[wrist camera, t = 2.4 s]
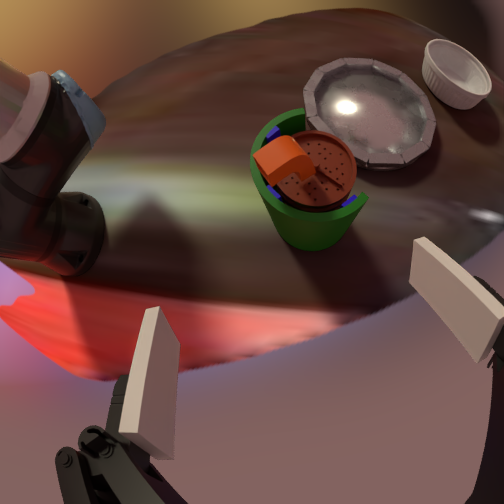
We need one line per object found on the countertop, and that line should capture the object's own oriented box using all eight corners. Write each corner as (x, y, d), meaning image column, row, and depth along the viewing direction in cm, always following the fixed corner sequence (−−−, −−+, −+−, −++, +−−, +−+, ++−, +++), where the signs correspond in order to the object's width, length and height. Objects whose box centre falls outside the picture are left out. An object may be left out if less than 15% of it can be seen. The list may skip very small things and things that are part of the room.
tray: (312, 172, 36) (312, 164, 33) (298, 69, 39) (297, 58, 36) (442, 173, 32) (449, 166, 30) (408, 72, 35) (412, 63, 32)
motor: (359, 220, 34) (409, 148, 15) (310, 267, 35) (314, 244, 15) (304, 168, 36) (296, 64, 17) (257, 211, 37) (204, 137, 17)
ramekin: (479, 128, 31) (497, 108, 24) (415, 97, 34) (427, 71, 27) (473, 80, 32) (486, 60, 25) (416, 53, 35) (424, 29, 28)
